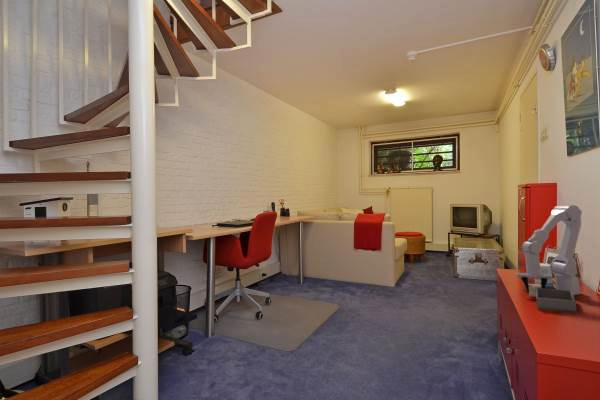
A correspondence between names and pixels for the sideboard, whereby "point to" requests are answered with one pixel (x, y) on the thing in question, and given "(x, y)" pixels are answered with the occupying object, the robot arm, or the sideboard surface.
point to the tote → (555, 300)
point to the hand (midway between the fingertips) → (535, 292)
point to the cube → (533, 289)
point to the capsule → (530, 281)
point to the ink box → (545, 270)
